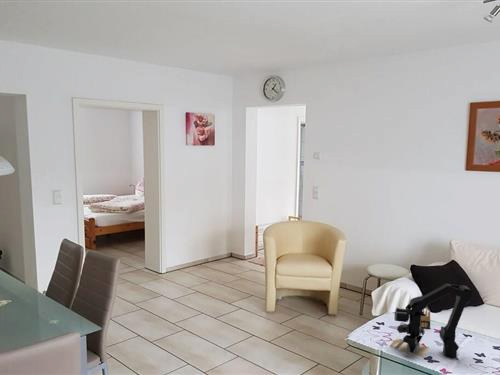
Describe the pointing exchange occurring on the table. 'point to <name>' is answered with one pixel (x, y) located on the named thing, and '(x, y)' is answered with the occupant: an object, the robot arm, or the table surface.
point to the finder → (414, 349)
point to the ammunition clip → (425, 320)
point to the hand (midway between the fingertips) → (413, 350)
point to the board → (403, 346)
